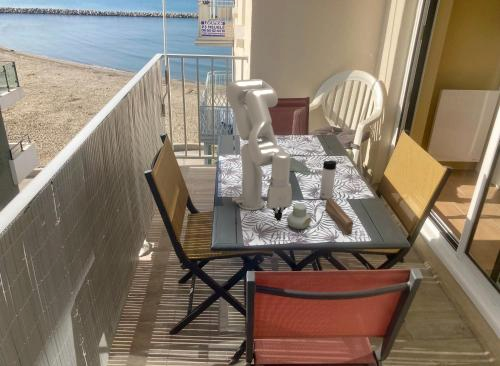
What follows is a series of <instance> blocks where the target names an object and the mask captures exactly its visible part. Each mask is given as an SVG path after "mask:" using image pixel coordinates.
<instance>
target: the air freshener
mask: <svg viewBox="0 0 500 366" xmlns="http://www.w3.org/2000/svg"><path fill="white" fill-rule="evenodd" d="M307 211H308V207H307V205H306V204H305V203H302V202H297V203H294V204H293V208H292V211H291V212H290V213H288V216H287V217H286V223H287V224H288V225H289V226H290V227H291V228H293V229H297V230H302V229H306V228H307V227H308V226H310V224H311V222H312V216H311V215H310V214H308V213H307Z"/></svg>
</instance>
